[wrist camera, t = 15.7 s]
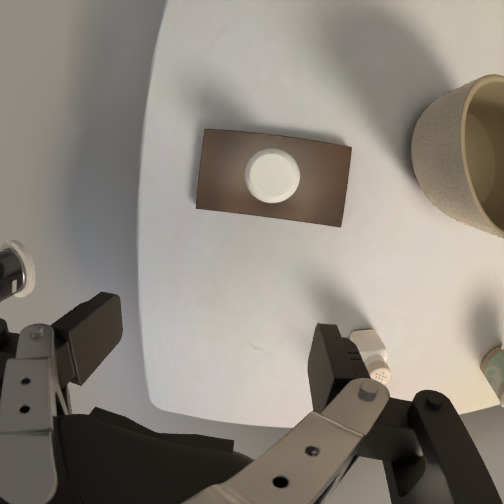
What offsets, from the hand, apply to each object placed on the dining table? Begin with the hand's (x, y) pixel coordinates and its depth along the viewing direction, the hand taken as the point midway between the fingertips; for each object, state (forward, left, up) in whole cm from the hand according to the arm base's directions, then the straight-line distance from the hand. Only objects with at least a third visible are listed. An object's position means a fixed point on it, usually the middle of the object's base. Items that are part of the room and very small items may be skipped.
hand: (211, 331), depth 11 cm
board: (+1, +6, -27) cm, 28 cm away
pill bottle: (+1, +6, -26) cm, 27 cm away
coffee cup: (+48, -19, -28) cm, 59 cm away
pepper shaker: (+17, -15, -28) cm, 36 cm away
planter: (+25, +13, -28) cm, 40 cm away
